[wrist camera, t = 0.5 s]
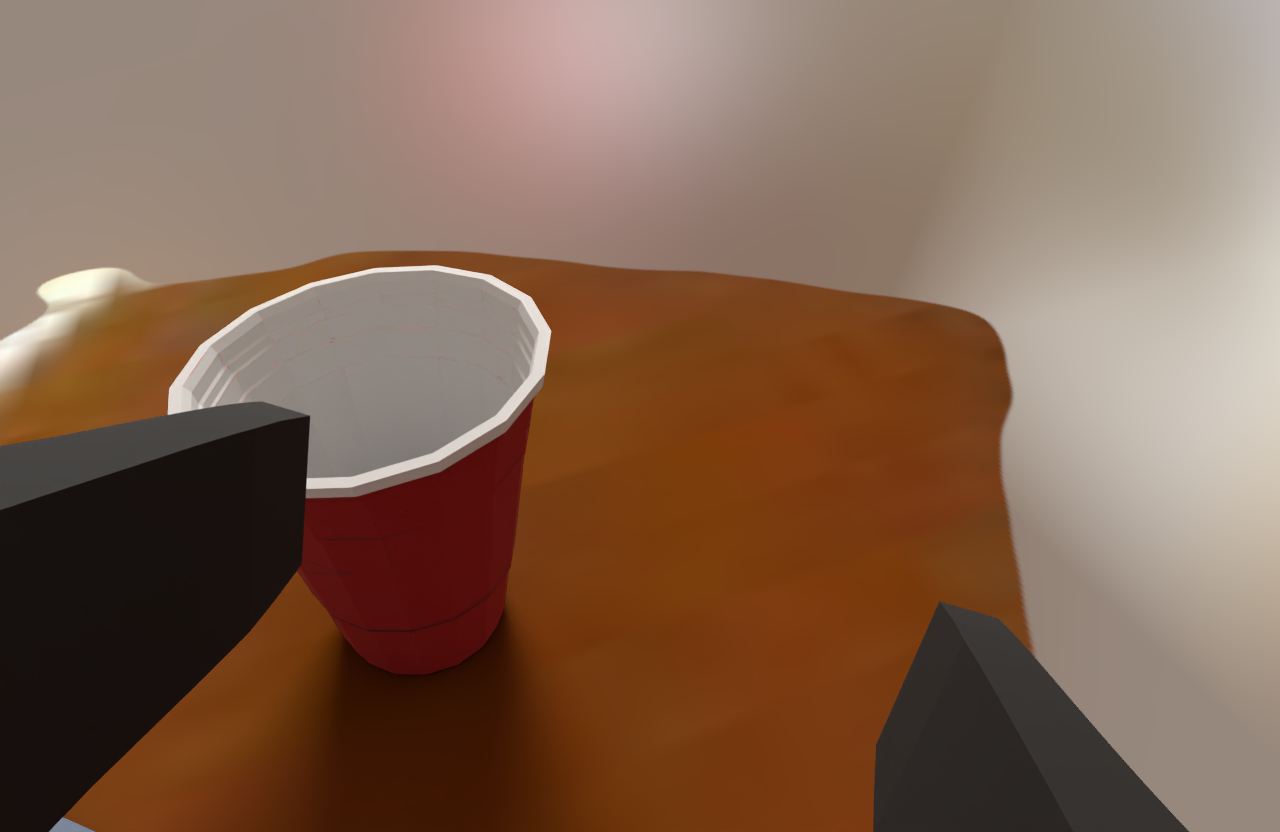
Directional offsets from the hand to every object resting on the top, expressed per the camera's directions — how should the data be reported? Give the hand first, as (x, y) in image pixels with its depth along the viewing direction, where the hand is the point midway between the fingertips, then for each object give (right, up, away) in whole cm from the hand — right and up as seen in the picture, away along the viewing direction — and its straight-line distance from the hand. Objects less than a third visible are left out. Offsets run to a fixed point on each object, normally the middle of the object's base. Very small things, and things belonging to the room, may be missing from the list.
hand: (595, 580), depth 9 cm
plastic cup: (-8, -6, +22) cm, 24 cm away
